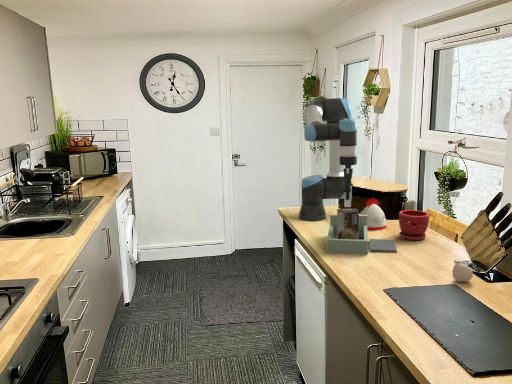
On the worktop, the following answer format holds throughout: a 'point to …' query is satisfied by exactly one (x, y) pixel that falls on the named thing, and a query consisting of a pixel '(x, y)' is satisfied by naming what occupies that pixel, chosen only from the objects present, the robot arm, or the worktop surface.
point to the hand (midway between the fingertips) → (348, 203)
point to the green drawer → (347, 244)
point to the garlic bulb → (462, 272)
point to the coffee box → (348, 224)
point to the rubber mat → (382, 245)
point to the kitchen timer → (374, 215)
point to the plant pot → (413, 224)
